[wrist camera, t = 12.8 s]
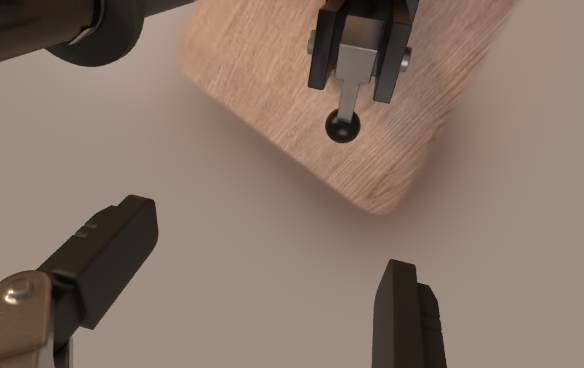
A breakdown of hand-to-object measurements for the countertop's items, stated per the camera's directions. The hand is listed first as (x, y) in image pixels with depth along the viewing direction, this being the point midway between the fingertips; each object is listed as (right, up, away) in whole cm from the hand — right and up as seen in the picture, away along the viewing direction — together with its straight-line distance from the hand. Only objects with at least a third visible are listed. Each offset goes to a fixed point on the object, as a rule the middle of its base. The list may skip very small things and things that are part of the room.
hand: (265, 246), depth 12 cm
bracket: (+7, +15, +18) cm, 25 cm away
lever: (+5, +10, +14) cm, 18 cm away
